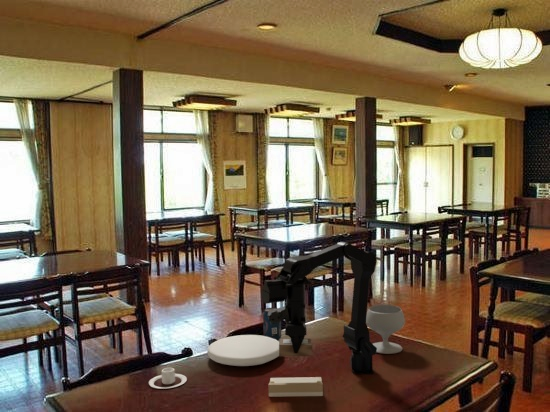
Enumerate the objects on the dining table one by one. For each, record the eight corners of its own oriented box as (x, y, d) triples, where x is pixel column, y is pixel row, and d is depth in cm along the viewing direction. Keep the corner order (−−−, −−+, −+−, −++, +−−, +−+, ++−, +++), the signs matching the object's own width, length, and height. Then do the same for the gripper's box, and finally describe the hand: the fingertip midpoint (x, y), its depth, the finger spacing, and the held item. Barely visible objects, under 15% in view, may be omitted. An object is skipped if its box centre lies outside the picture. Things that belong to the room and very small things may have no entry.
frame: (311, 349, 166) (311, 338, 166) (312, 356, 160) (312, 344, 160) (279, 349, 166) (279, 338, 166) (279, 356, 160) (279, 344, 160)
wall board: (321, 380, 167) (320, 369, 167) (323, 395, 156) (322, 384, 156) (270, 381, 168) (270, 370, 167) (268, 396, 157) (268, 384, 156)
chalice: (379, 340, 204) (379, 301, 203) (412, 348, 194) (412, 307, 193) (358, 349, 194) (358, 309, 193) (392, 358, 184) (391, 316, 183)
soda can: (262, 337, 211) (261, 308, 210) (279, 335, 213) (278, 306, 212) (266, 343, 204) (265, 312, 203) (283, 341, 206) (282, 310, 205)
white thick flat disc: (221, 331, 206) (288, 333, 201) (221, 347, 206) (288, 351, 201) (196, 347, 179) (273, 351, 173) (196, 367, 179) (273, 371, 173)
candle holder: (149, 393, 163) (148, 379, 162) (148, 378, 174) (147, 365, 174) (188, 387, 166) (188, 374, 165) (184, 373, 177) (184, 361, 177)
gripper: (270, 292, 171) (270, 340, 172) (267, 307, 153) (268, 360, 154) (304, 292, 171) (305, 339, 172) (306, 307, 152) (306, 360, 153)
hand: (295, 349), depth 163 cm, fingers closed on frame, 6 cm apart
